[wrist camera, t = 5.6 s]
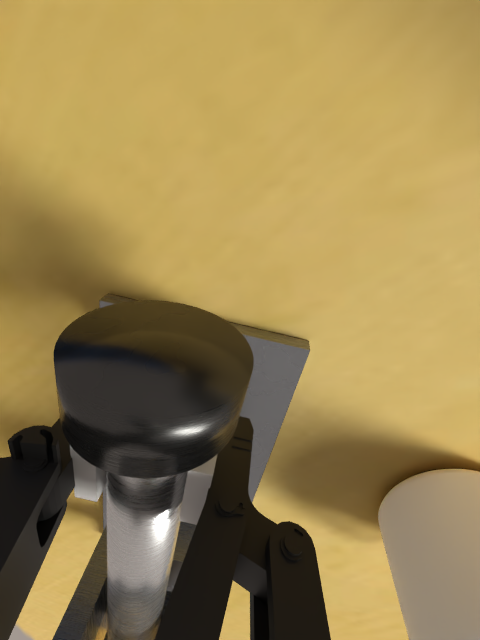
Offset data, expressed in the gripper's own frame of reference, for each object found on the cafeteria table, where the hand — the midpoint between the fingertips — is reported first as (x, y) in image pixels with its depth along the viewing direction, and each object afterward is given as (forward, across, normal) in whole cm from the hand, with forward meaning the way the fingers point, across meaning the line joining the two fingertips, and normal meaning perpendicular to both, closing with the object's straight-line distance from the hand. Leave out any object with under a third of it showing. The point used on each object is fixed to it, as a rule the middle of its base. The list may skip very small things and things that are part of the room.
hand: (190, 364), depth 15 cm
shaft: (-3, 0, -7) cm, 7 cm away
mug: (+4, +20, -11) cm, 23 cm away
